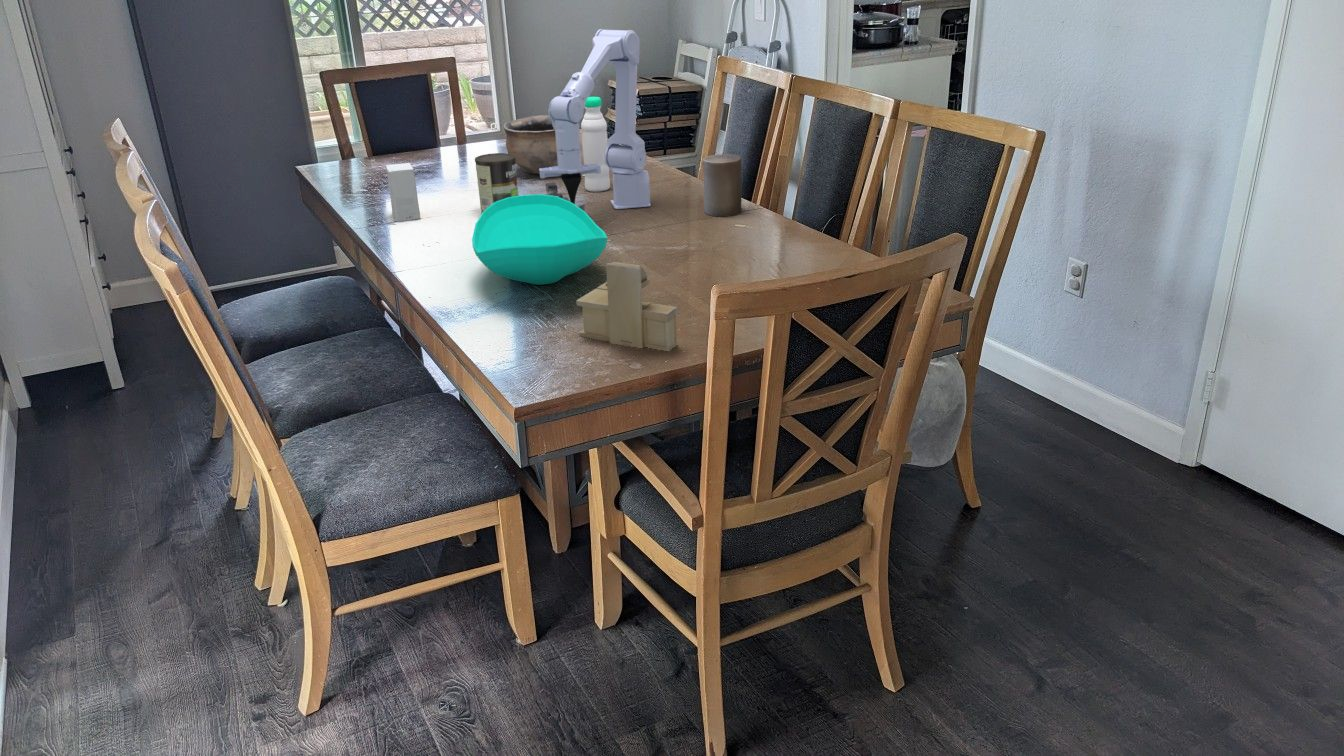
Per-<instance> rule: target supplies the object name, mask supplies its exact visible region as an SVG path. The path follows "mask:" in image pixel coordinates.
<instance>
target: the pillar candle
mask: <svg viewBox="0 0 1344 756" xmlns="http://www.w3.org/2000/svg"><path fill="white" fill-rule="evenodd" d="M702 171H703V172H702V173H703V176H702V177H703V178H702V179H703V205H704V206H703V208H704V209H703V212H704V214H706V215H708V216H712V217H729V216H736V215H739V214H741V213H742V212H743V211H742V157H741V156H740V155H736V154H724V153H721V154H713V155H708V156H706V157H703V158H702Z"/></svg>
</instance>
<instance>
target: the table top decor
mask: <svg viewBox="0 0 1344 756" xmlns="http://www.w3.org/2000/svg"><path fill="white" fill-rule="evenodd" d="M474 224H475V225H474V229H473V234H472V238H471V239H472V240H471V241H472V248H473V251H474V253H475V256H476V257H477V258H478V260H479V261H480V262H481V263H482V265H484V266H485V267H486V269H488V270H489V271H491V272H493V273H495V274H496V275H498V276H499V277H503V278H506V279H509V280H513V281H517V282H521V283H522V282H523V283H525V284H526V283H527V284H531V285H538V286H539V285H540V286H541V285H549V284H555V283H558V282H559V281H560V280H561V279H563V278H565V277H566V276H569V275H572V274H575V273H577V272H579V271H581V270H582V269H584V268H586V267H588V266H590V265H591V264H592V263H593V262H594V261H595V260H597V259H598V258H599V257H600V256H601V255H602V254H603V252H604V250H605V249H606V248H607V244H608V236H607V233H606V232H605V231H604V230H603V228H601V227H599V225H598V224H597V223H595V221H594V220H593V219H592V218H591V217H590V216H589V215H588V212H586V210H585V211H583V210H582V209H580V208H579V207H577V206H576V205H575V204H573V203H572V202H570V201H567V200H564V199H562V198H559V197H557V196H551V195H546V194H539V193H538V194H522V195H518V196H514V197H508V198H505V199H502V200H499V201H496V202H494V203H493V204H492V205H490V206H489V207H488V208H487V209H486V210H484V211H483V213H481V214H480V215H479V218H478V219H477V221H476V222H475V223H474Z"/></svg>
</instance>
